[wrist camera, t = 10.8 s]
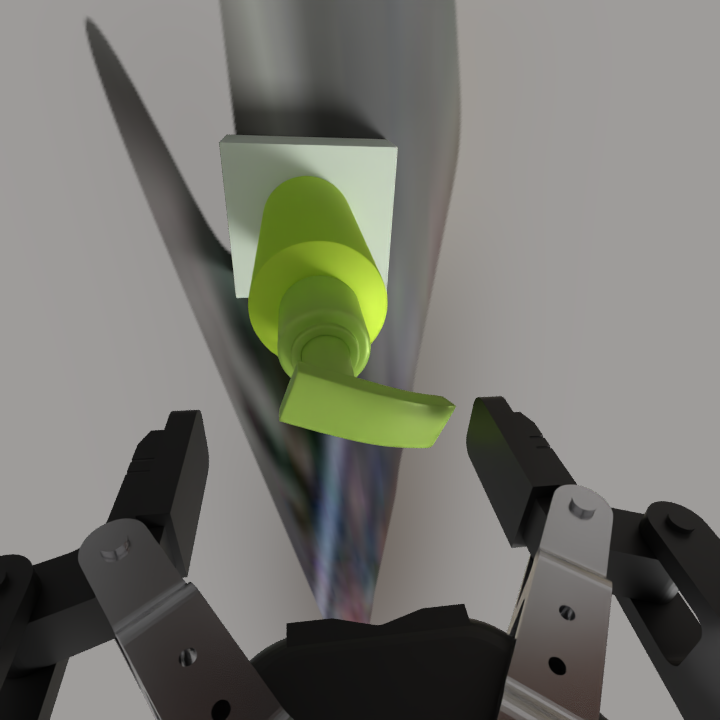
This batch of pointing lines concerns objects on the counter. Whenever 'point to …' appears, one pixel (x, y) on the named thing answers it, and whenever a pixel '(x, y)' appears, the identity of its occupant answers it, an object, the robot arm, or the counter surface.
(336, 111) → the counter surface
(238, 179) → the plate
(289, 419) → the soap dispenser
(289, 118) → the counter surface
